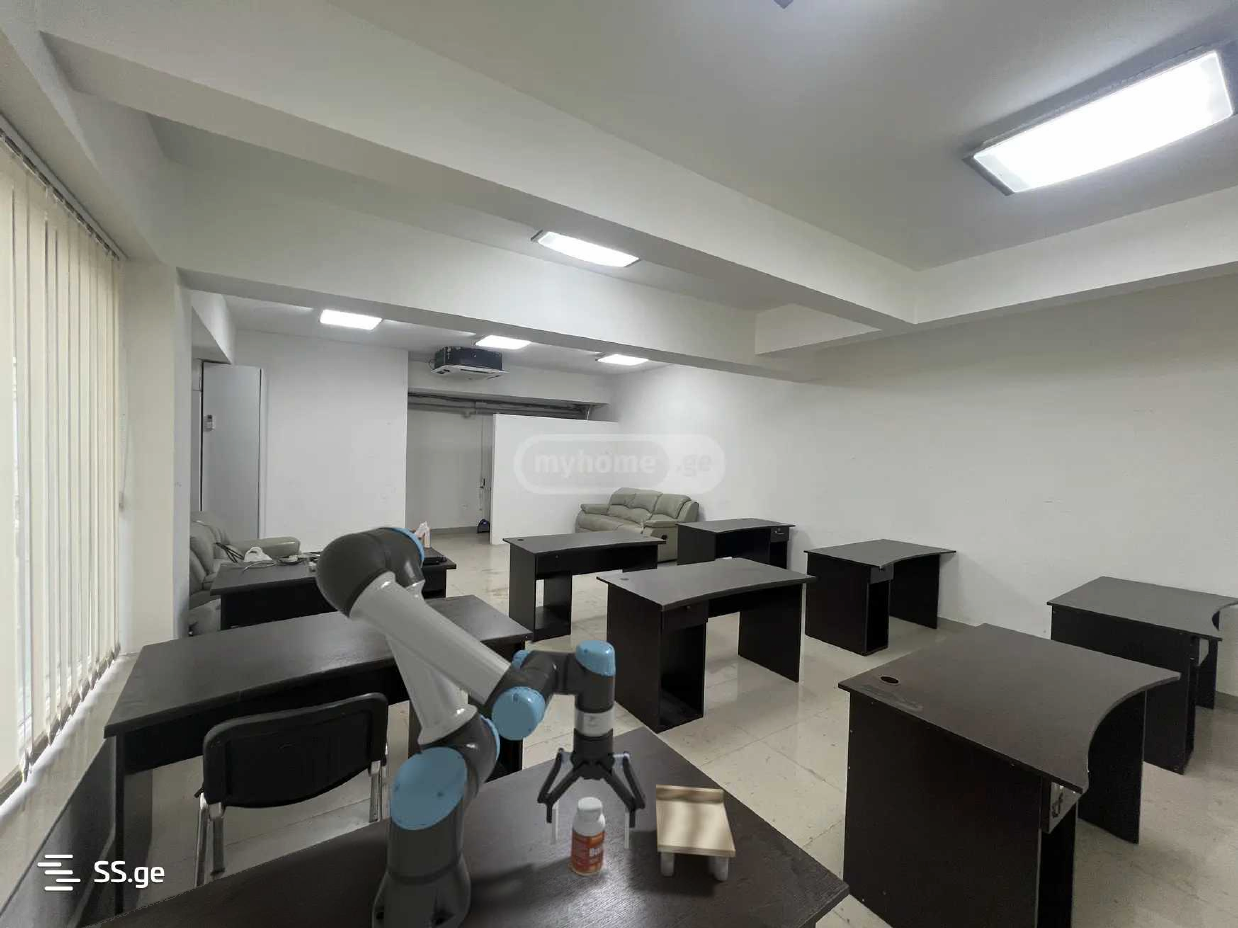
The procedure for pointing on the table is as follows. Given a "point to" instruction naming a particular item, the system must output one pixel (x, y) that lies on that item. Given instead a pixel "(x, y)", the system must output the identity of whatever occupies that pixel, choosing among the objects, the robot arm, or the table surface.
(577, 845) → the pill bottle
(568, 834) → the table surface
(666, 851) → the beige small table
